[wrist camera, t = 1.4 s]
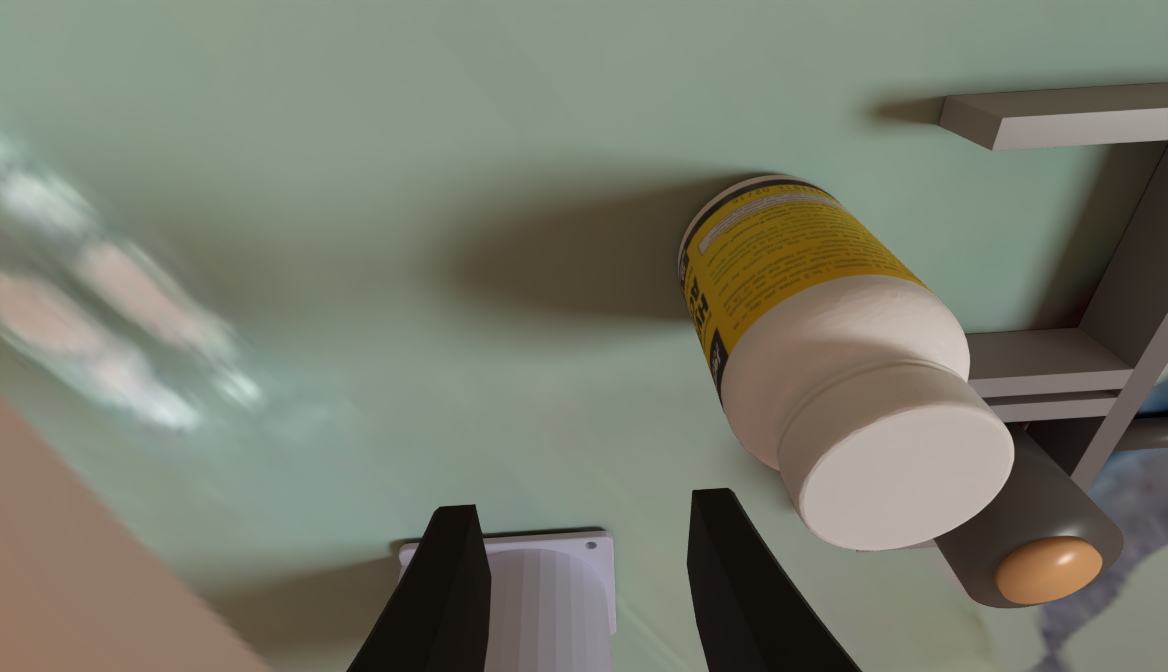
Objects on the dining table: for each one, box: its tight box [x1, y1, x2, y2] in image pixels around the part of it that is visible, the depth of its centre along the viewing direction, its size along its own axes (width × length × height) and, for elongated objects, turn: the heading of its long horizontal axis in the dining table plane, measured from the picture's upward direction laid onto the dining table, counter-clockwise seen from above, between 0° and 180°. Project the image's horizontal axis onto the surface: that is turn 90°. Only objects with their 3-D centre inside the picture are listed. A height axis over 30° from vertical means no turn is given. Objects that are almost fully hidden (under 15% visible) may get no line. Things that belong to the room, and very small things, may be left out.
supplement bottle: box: [678, 175, 1014, 551], centre depth 15 cm, size 5×5×10 cm
